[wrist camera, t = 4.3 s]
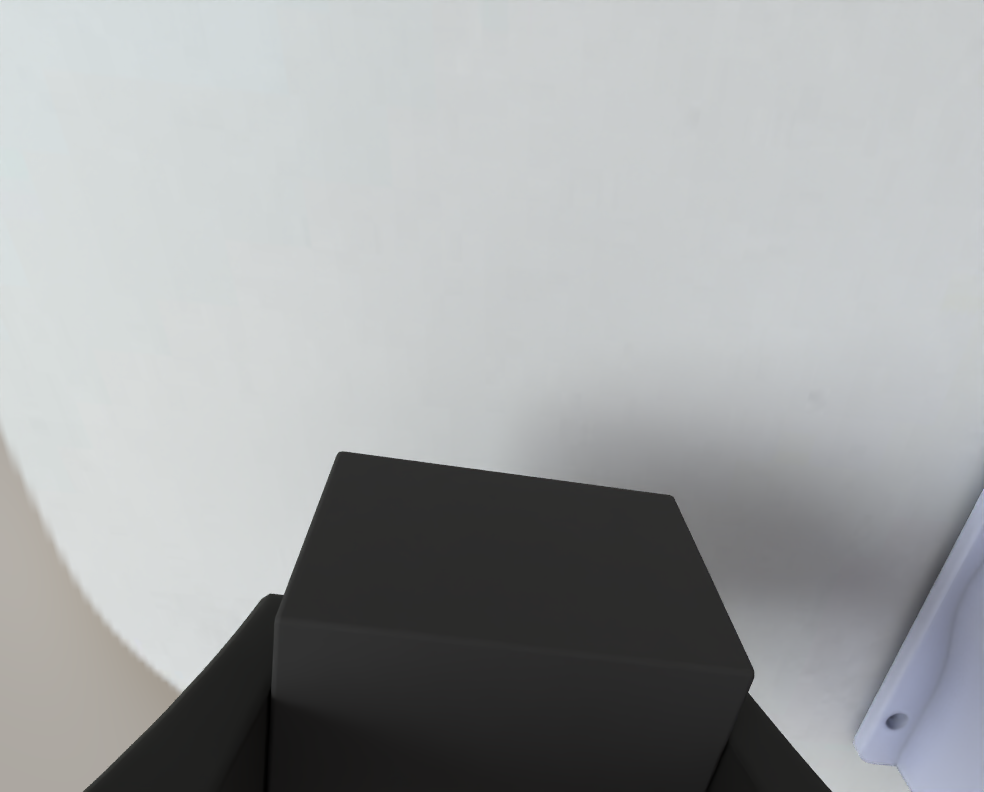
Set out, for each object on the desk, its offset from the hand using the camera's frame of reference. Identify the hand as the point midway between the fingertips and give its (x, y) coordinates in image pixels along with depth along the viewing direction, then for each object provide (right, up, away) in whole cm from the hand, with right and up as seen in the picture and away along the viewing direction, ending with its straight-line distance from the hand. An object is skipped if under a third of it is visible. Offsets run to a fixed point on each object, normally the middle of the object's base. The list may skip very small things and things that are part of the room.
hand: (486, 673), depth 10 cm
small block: (0, +1, +1) cm, 1 cm away
